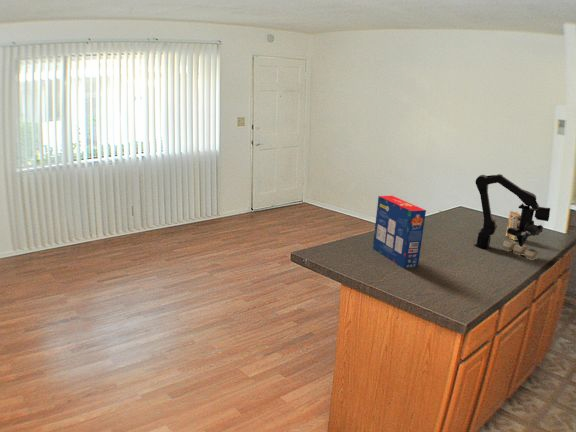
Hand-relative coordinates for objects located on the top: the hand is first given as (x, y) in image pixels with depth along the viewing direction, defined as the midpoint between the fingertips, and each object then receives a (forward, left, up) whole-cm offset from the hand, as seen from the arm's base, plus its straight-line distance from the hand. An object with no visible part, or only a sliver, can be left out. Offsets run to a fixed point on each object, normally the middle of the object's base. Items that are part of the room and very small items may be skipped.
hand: (520, 246), depth 269 cm
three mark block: (0, -7, -4) cm, 8 cm away
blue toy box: (-70, +16, -5) cm, 72 cm away
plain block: (0, 0, -4) cm, 4 cm away
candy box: (+19, +21, -5) cm, 29 cm away
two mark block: (0, +7, -5) cm, 8 cm away
